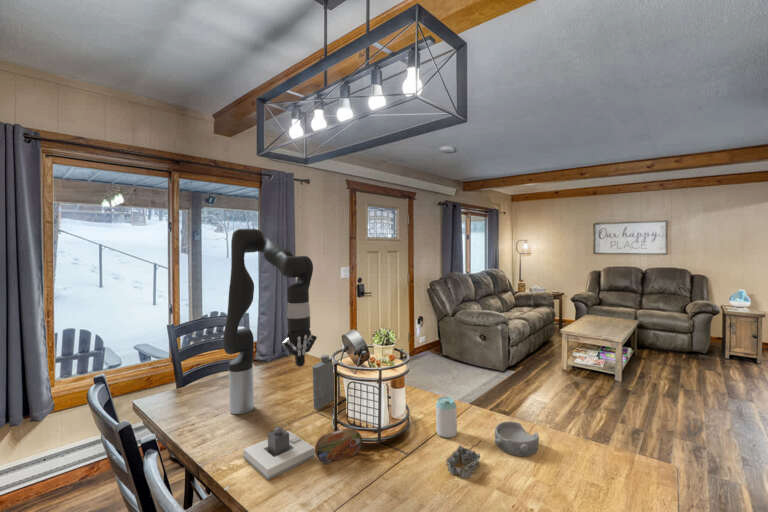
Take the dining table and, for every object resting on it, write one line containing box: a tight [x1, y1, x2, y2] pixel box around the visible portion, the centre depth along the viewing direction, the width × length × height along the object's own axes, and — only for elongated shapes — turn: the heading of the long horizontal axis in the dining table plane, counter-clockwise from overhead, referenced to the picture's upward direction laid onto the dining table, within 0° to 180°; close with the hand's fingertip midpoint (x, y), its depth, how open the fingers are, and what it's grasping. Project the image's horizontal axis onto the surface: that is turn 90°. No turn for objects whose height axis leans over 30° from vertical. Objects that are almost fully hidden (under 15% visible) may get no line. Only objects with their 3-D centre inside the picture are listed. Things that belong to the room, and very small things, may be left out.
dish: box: [494, 420, 540, 457], centre depth 122 cm, size 14×14×5 cm
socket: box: [242, 430, 316, 481], centre depth 119 cm, size 16×16×4 cm
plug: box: [267, 426, 290, 457], centre depth 119 cm, size 5×5×9 cm
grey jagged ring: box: [446, 445, 481, 480], centre depth 111 cm, size 11×8×4 cm
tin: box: [314, 427, 363, 465], centre depth 118 cm, size 15×3×8 cm, turn 117°
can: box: [435, 396, 458, 439], centre depth 131 cm, size 7×7×12 cm
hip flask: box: [312, 354, 341, 411], centre depth 160 cm, size 16×4×20 cm, turn 150°
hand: (300, 365), depth 127 cm, fingers closed
